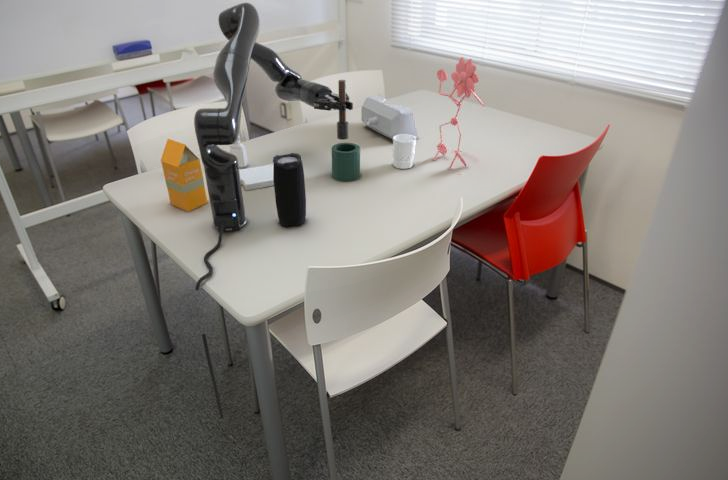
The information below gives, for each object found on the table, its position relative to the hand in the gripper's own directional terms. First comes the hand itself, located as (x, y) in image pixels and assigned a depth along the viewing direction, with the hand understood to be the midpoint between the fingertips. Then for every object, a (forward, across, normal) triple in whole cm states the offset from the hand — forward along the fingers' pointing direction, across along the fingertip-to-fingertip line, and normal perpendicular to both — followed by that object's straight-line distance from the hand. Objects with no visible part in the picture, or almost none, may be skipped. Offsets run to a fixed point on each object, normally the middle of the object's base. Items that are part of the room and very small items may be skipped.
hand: (348, 107), depth 157 cm
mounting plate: (-20, -22, +25) cm, 39 cm away
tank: (-26, +39, +25) cm, 53 cm away
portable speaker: (+12, -31, +24) cm, 41 cm away
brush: (-3, 0, +10) cm, 11 cm away
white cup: (+3, +22, +25) cm, 33 cm away
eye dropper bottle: (-35, -22, +25) cm, 48 cm away
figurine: (+13, +40, +25) cm, 49 cm away
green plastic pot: (-3, +2, +24) cm, 25 cm away
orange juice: (-19, -49, +25) cm, 58 cm away
